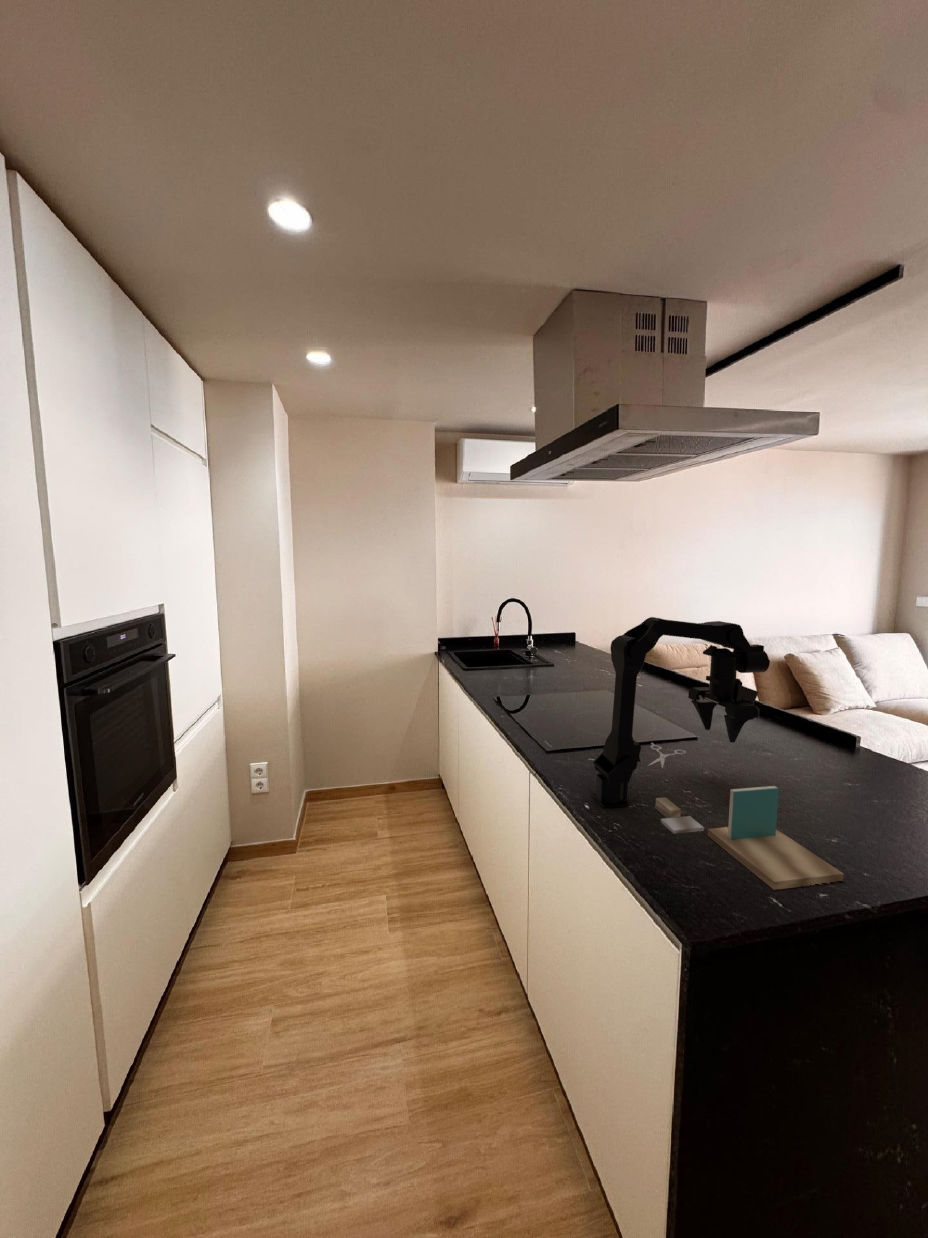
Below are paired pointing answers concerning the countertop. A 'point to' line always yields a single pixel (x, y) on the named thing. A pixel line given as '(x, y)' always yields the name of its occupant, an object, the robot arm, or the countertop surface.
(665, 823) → the turner
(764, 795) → the tile
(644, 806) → the countertop surface
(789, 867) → the oak board
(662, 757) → the scissors
